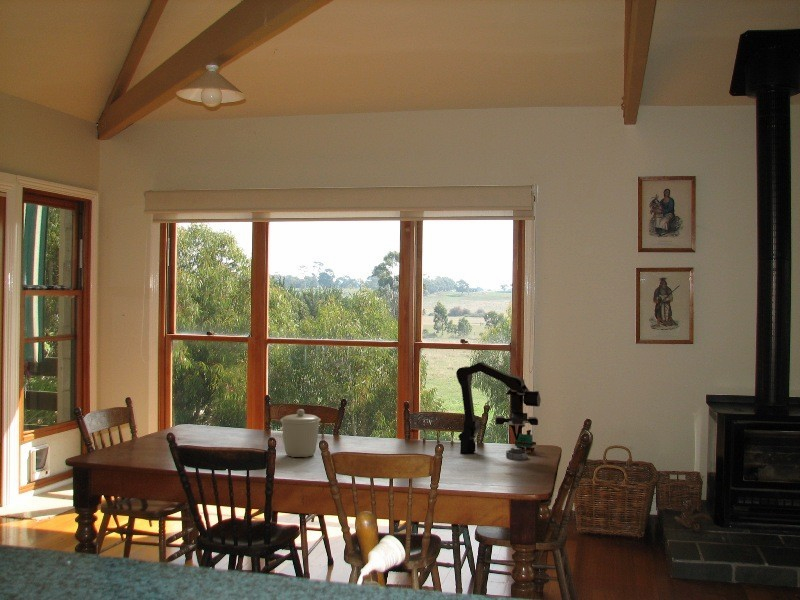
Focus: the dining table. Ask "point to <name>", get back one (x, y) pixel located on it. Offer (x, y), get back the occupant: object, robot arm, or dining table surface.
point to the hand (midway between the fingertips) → (516, 439)
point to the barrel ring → (516, 455)
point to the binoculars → (525, 441)
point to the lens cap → (516, 450)
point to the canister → (300, 434)
